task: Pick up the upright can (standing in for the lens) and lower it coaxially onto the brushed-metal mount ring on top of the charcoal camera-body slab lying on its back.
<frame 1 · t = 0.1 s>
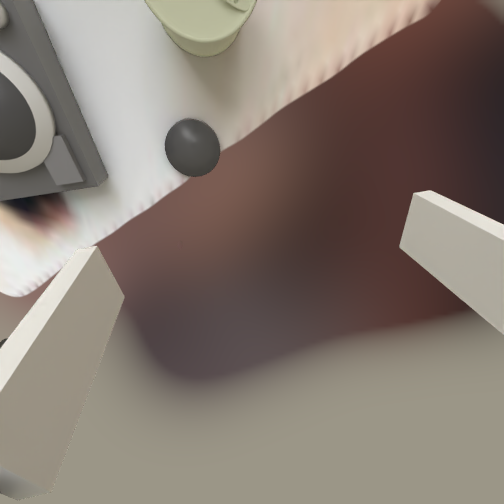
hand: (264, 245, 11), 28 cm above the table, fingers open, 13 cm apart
can: (200, 1, 27), on the table
lens cap: (193, 147, 34), on the table
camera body: (11, 107, 29), on the table
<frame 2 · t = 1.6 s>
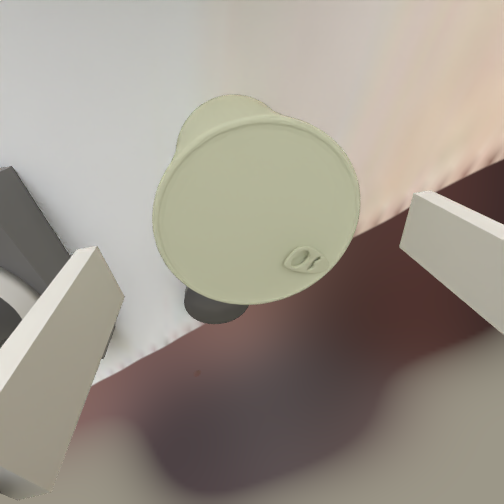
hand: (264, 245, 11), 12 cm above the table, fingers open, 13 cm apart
can: (234, 160, 21), on the table
lens cap: (217, 292, 29), on the table
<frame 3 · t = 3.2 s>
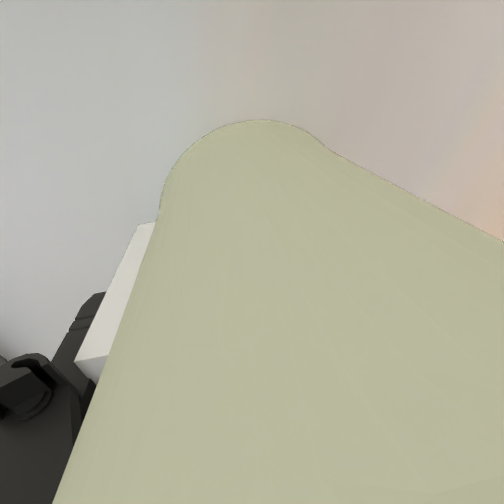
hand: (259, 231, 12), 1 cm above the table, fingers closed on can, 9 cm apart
can: (255, 220, 13), on the table, touching gripper
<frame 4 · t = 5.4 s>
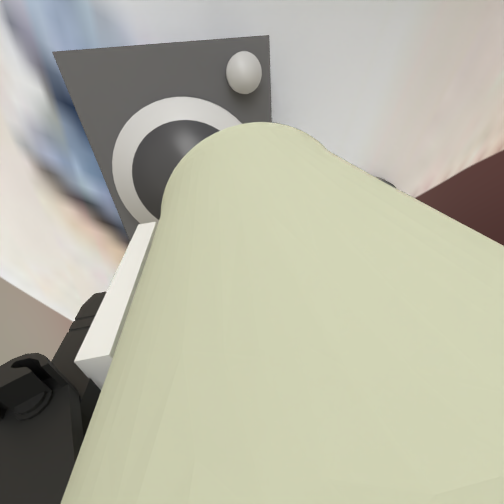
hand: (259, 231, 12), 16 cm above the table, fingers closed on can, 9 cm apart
can: (256, 221, 13), point 15 cm above the table, touching gripper
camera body: (194, 165, 25), on the table
when the fingers open (7 cm above the table, at t = 7.7 s): can stays where it is, resting on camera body.
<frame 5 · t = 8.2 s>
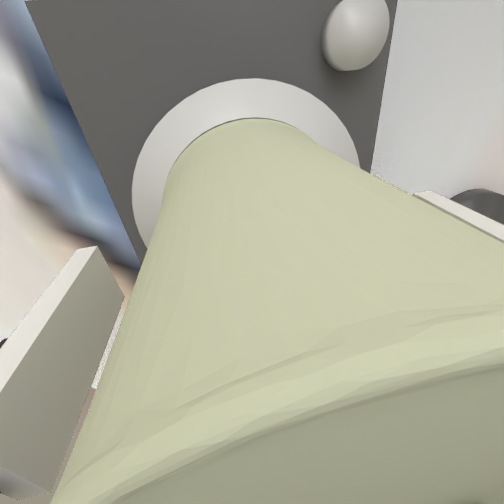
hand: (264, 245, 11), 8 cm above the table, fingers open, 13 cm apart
can: (252, 213, 14), point 5 cm above the table, touching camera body
lens cap: (456, 225, 23), on the table
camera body: (241, 183, 18), on the table
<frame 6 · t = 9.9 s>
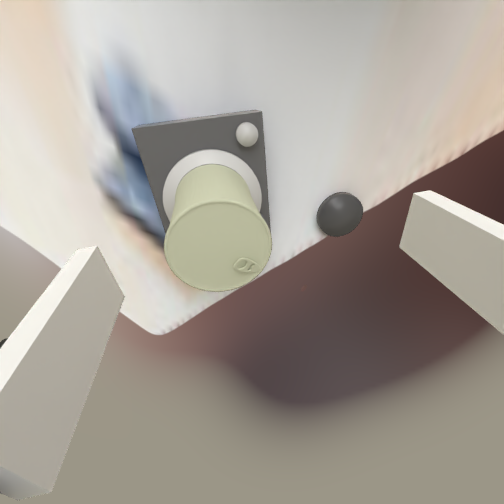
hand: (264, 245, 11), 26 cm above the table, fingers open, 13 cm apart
can: (214, 202, 31), point 5 cm above the table, touching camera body
lens cap: (337, 213, 41), on the table
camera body: (212, 189, 35), on the table
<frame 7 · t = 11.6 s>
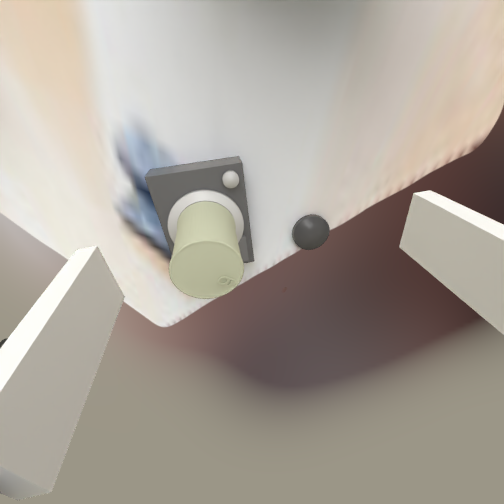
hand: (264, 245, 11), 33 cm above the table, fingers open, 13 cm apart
can: (206, 227, 41), point 5 cm above the table, touching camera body
lens cap: (309, 230, 50), on the table
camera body: (206, 214, 45), on the table
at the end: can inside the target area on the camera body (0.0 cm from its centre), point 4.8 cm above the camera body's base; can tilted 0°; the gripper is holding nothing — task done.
